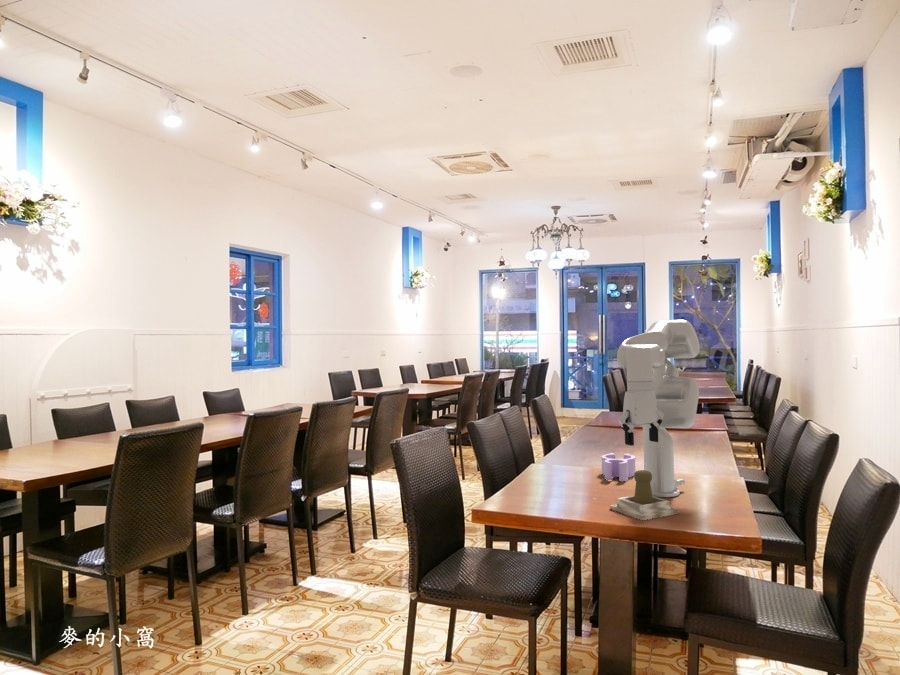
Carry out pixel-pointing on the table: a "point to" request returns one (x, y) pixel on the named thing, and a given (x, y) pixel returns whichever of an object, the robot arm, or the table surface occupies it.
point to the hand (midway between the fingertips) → (641, 443)
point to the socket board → (644, 508)
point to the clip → (618, 466)
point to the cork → (643, 487)
